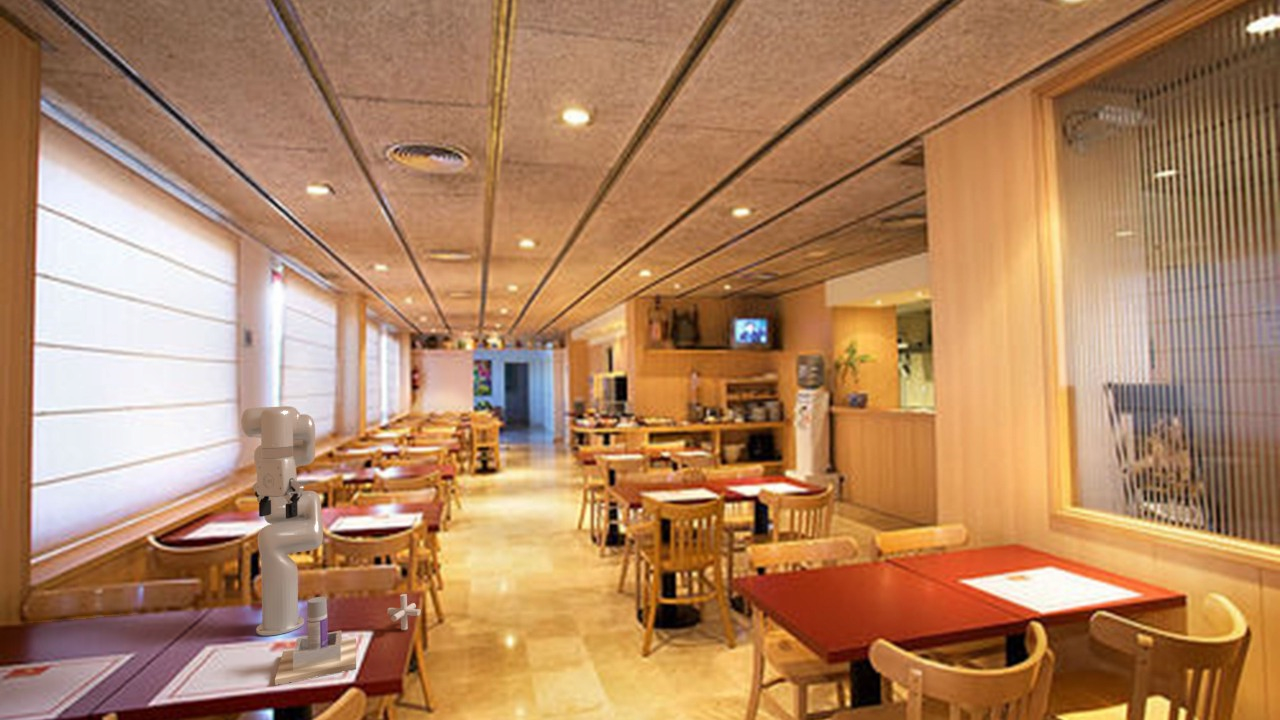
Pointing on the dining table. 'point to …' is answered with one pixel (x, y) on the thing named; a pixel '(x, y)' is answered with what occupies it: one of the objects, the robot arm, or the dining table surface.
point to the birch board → (290, 675)
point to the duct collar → (317, 652)
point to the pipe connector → (403, 611)
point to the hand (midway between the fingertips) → (278, 516)
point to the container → (317, 623)
